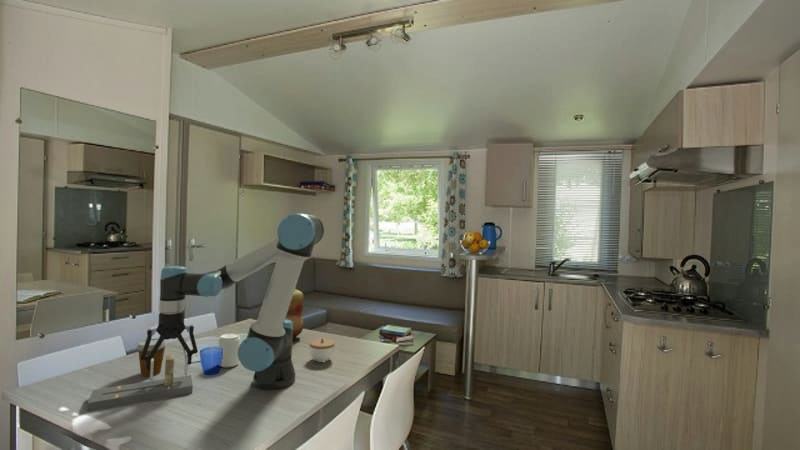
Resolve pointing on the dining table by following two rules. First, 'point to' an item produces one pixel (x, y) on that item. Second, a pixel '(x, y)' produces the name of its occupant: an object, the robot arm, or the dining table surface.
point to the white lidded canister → (230, 349)
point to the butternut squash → (296, 312)
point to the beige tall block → (169, 370)
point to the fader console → (138, 392)
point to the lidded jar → (321, 349)
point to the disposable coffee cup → (157, 357)
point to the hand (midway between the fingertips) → (168, 376)
